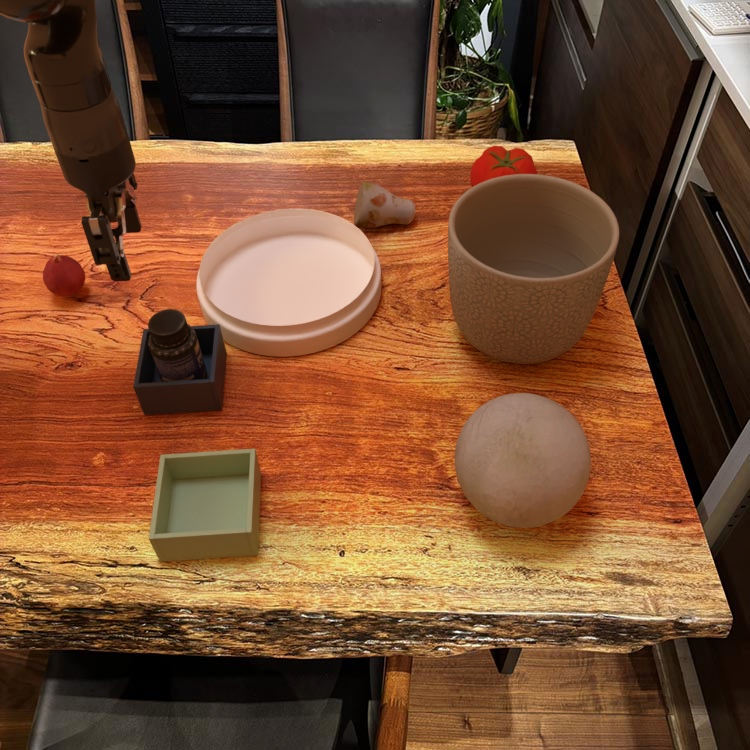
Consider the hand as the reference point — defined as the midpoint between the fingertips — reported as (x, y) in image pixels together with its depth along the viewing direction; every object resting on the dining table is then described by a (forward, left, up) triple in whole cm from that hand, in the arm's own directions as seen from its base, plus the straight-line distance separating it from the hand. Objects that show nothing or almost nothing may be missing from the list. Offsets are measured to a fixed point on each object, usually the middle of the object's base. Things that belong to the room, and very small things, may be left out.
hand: (127, 254), depth 94 cm
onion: (-16, +17, -21) cm, 31 cm away
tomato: (+52, +35, -21) cm, 66 cm away
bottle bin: (+3, -2, -21) cm, 21 cm away
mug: (+32, +30, -21) cm, 48 cm away
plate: (+17, +15, -21) cm, 31 cm away
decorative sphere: (+44, -23, -21) cm, 54 cm away
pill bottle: (+3, -2, -20) cm, 21 cm away
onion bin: (+8, -23, -21) cm, 32 cm away
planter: (+49, +4, -21) cm, 53 cm away
